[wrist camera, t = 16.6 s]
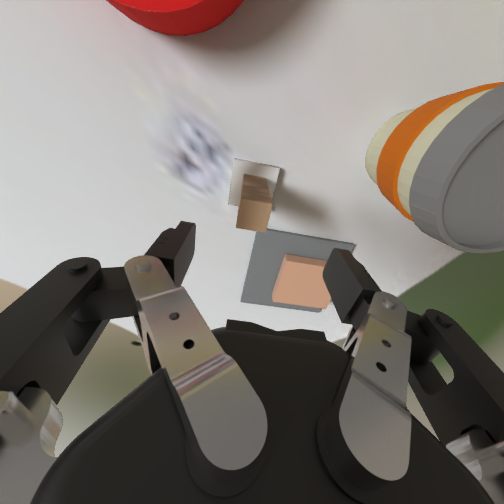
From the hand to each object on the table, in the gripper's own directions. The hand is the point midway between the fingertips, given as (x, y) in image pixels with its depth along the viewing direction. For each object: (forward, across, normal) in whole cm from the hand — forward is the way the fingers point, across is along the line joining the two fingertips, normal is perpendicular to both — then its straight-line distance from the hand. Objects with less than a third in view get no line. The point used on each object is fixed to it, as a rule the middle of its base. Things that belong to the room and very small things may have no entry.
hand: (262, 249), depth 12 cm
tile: (+18, -12, +16) cm, 27 cm away
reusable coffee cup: (+20, -18, -6) cm, 27 cm away
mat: (+20, -10, +16) cm, 27 cm away
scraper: (+20, 0, +2) cm, 20 cm away
